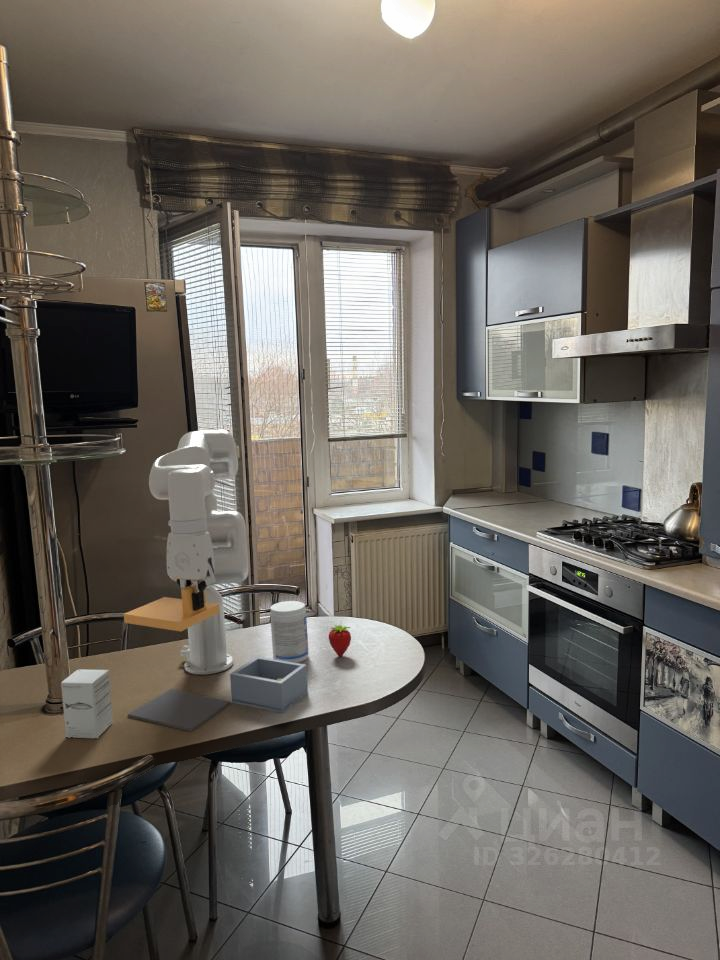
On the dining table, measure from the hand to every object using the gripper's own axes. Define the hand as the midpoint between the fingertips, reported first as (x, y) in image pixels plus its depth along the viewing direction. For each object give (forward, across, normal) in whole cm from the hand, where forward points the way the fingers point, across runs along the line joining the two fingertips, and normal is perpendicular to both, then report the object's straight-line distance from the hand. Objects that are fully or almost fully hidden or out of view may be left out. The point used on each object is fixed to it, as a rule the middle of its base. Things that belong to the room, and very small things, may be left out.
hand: (194, 607), depth 149 cm
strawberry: (+25, +14, +41) cm, 50 cm away
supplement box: (+25, -18, -15) cm, 35 cm away
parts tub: (+25, +10, +13) cm, 30 cm away
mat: (+25, -6, 0) cm, 26 cm away
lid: (+2, -6, 0) cm, 7 cm away
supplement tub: (+25, +2, +35) cm, 43 cm away
